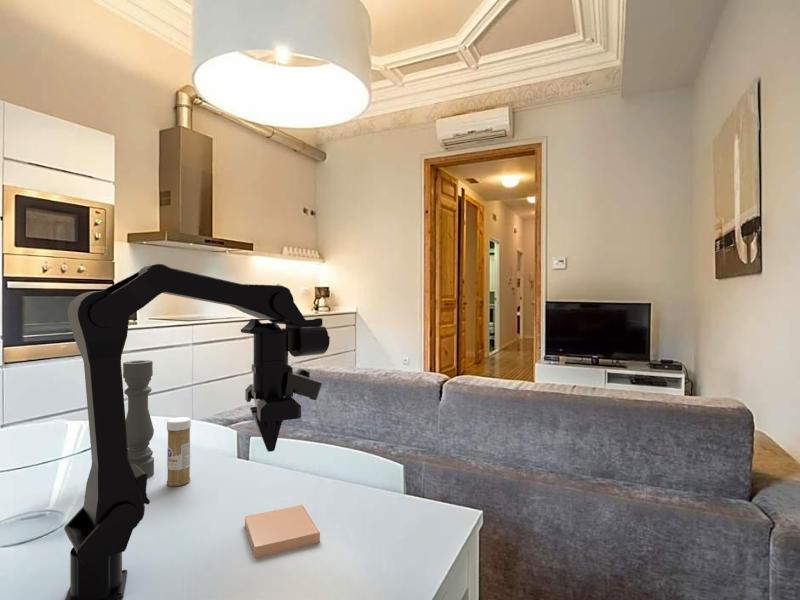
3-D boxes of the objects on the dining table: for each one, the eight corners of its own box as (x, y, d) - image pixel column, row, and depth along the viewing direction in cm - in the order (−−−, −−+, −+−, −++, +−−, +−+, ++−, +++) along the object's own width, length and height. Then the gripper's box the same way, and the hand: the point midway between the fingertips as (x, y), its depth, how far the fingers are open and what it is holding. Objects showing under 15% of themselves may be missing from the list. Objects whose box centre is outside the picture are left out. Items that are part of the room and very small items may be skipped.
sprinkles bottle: (161, 485, 96) (161, 420, 96) (179, 477, 101) (179, 415, 101) (178, 488, 95) (178, 422, 95) (195, 480, 99) (195, 417, 99)
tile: (302, 515, 84) (319, 544, 74) (244, 528, 79) (254, 560, 69) (302, 504, 84) (319, 532, 74) (244, 516, 79) (254, 547, 69)
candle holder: (117, 482, 98) (117, 364, 98) (126, 472, 104) (126, 360, 104) (150, 479, 99) (150, 363, 99) (157, 469, 105) (157, 359, 105)
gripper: (333, 363, 74) (332, 461, 74) (304, 351, 91) (304, 431, 91) (261, 367, 69) (260, 472, 69) (245, 354, 86) (244, 438, 86)
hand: (270, 450), depth 79 cm, fingers closed
